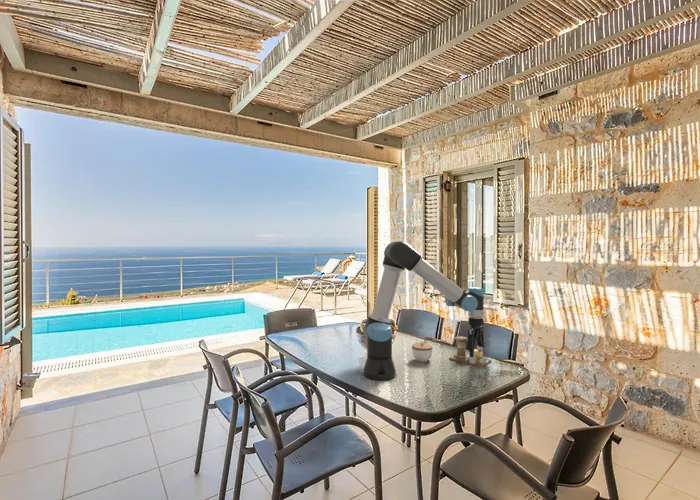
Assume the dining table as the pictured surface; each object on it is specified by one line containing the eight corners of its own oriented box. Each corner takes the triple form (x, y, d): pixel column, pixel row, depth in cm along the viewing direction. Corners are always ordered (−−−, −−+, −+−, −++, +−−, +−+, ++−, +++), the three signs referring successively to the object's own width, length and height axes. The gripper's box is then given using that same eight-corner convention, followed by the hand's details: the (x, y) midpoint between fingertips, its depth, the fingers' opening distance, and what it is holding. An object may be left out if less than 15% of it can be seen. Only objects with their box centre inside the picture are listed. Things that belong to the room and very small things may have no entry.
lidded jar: (432, 364, 183) (432, 345, 183) (411, 362, 185) (411, 344, 185) (432, 357, 194) (432, 340, 194) (412, 356, 196) (412, 339, 196)
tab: (480, 363, 181) (480, 351, 181) (470, 361, 184) (470, 349, 184) (482, 362, 183) (482, 350, 183) (473, 360, 186) (473, 348, 186)
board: (482, 367, 178) (482, 360, 178) (449, 359, 191) (449, 353, 191) (491, 361, 187) (491, 354, 187) (459, 354, 199) (459, 348, 199)
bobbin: (464, 359, 187) (465, 340, 187) (450, 356, 192) (450, 338, 192) (471, 356, 192) (471, 337, 192) (457, 353, 198) (457, 335, 198)
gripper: (474, 321, 173) (474, 367, 173) (491, 315, 189) (491, 357, 189) (459, 319, 178) (459, 364, 178) (477, 313, 194) (477, 355, 194)
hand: (476, 360), depth 184 cm, fingers open, 8 cm apart
